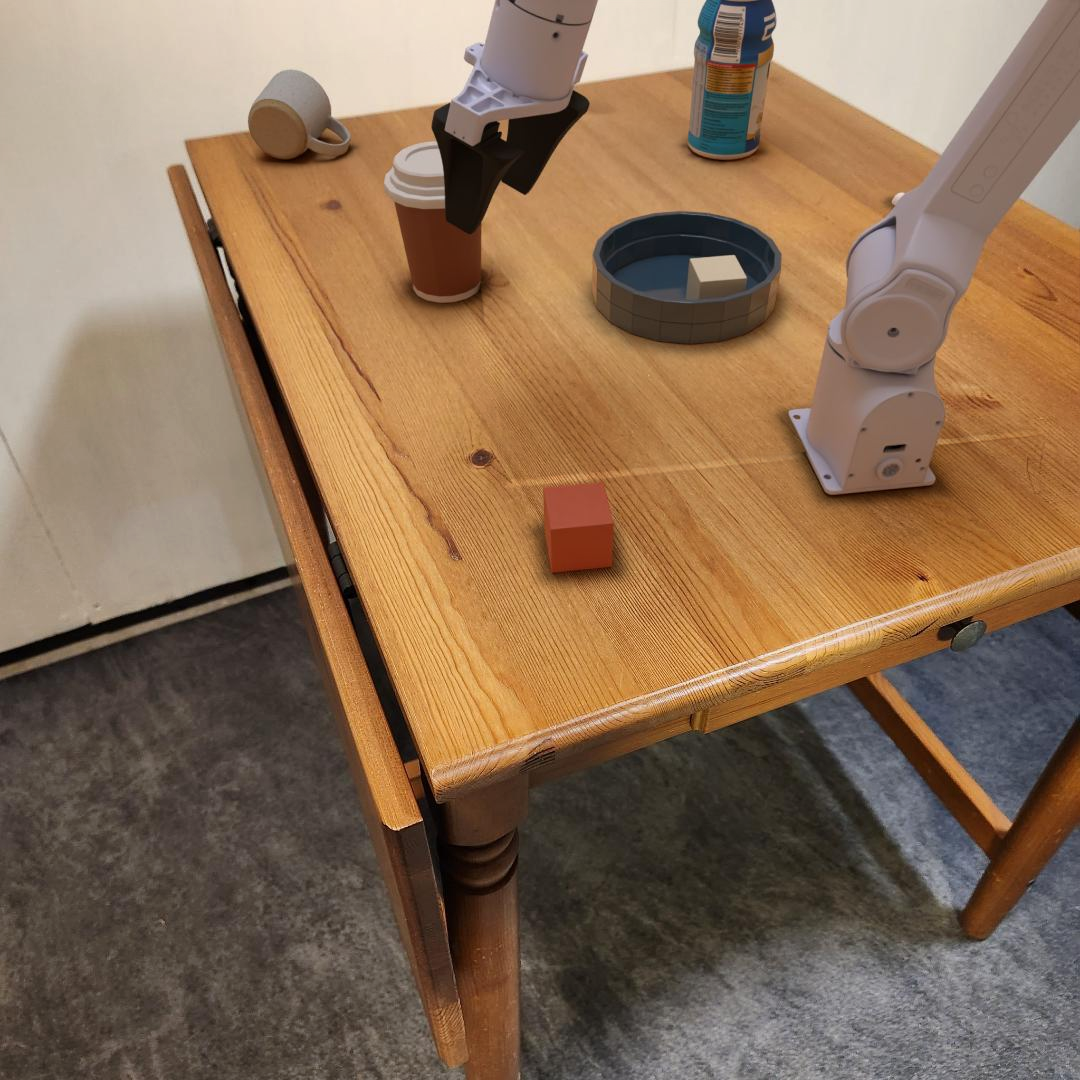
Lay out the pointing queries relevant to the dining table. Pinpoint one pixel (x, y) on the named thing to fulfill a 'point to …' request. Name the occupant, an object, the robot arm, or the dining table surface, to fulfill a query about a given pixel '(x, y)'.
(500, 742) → the dining table surface
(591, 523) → the terracotta block
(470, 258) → the coffee cup
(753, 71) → the beverage bottle
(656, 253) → the bowl
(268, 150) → the ceramic mug
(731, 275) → the cream block
